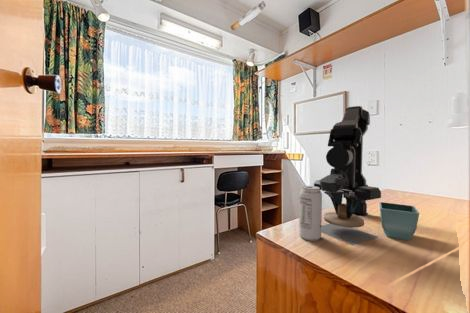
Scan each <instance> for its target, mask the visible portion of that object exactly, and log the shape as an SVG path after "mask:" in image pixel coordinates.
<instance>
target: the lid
mask: <svg viewBox="0 0 470 313" xmlns="http://www.w3.org/2000/svg"><path fill="white" fill-rule="evenodd" d="M323 220H324V222H326V223H327V224H333V225H337V226H342V227H352V228H355V229H356V228H360V227H363V226H364V225H365V220H364V218H362V216H356V215H353V214H352V216H351V217H350V218H347V204H346V203H342V204H338V215H337V214H336V211H335V212H334V211H333V212H328V213H327V212H326V213H325V214H324V215H323Z"/></svg>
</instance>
